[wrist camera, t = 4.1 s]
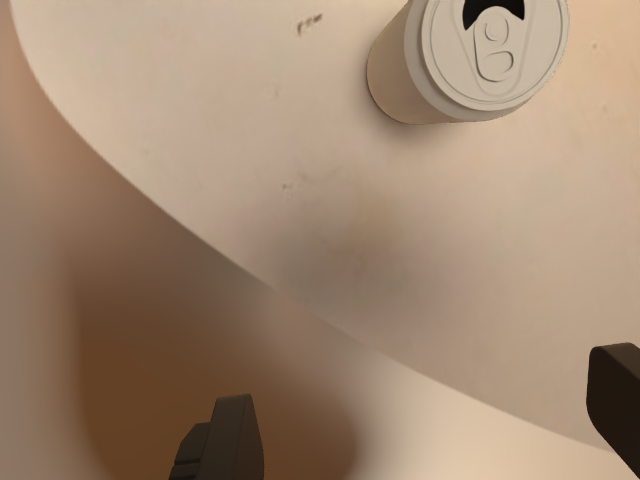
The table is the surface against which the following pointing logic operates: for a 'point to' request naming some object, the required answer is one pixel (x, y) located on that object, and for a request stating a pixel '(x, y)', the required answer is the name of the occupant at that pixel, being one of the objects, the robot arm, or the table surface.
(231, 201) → the table surface
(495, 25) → the beverage can
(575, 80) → the table surface
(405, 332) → the table surface
